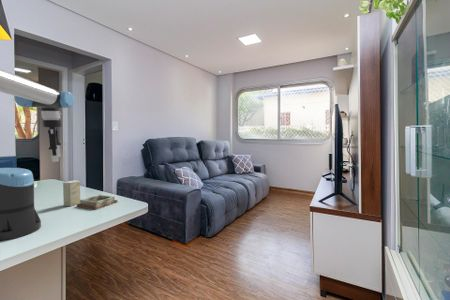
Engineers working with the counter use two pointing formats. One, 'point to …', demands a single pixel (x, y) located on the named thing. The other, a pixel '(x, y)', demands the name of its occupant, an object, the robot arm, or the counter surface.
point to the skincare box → (71, 193)
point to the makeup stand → (96, 202)
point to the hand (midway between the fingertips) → (56, 159)
